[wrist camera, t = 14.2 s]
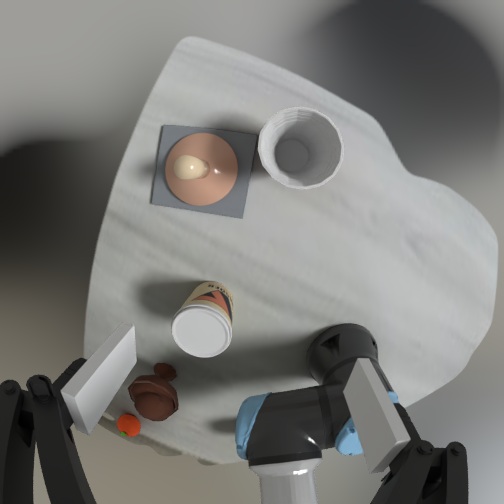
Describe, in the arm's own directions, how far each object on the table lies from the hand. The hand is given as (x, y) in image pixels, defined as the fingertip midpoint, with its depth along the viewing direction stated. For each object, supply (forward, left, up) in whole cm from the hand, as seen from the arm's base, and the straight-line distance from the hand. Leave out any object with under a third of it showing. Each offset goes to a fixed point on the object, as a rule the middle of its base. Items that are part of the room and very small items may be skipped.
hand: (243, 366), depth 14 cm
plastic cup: (-3, -15, -34) cm, 37 cm away
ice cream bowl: (+15, +34, -33) cm, 50 cm away
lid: (+11, -10, -32) cm, 35 cm away
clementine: (+26, +58, -34) cm, 72 cm away
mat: (+11, -10, -33) cm, 36 cm away
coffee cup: (+6, +13, -34) cm, 36 cm away
